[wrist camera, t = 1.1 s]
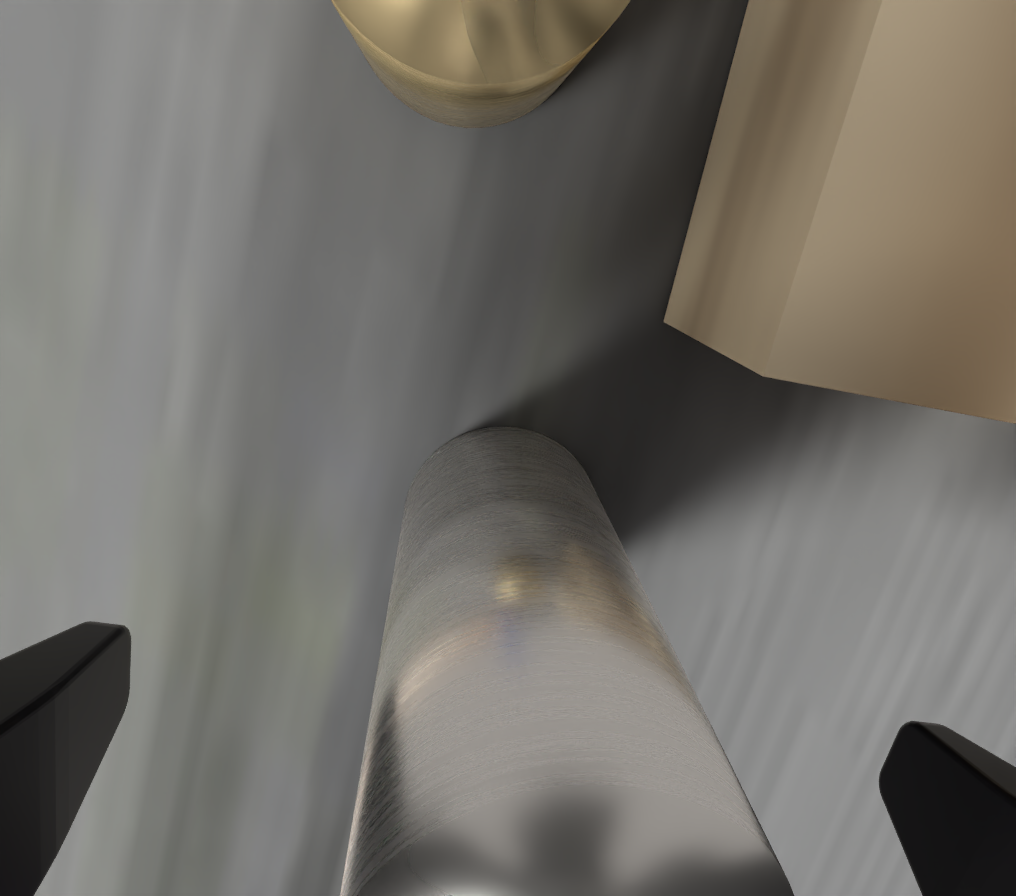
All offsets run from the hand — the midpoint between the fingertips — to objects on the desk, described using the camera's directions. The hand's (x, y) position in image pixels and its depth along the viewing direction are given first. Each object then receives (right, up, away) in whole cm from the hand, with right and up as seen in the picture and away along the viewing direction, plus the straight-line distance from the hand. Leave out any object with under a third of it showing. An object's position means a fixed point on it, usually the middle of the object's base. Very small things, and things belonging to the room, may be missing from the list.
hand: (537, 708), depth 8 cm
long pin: (0, +2, +5) cm, 5 cm away
